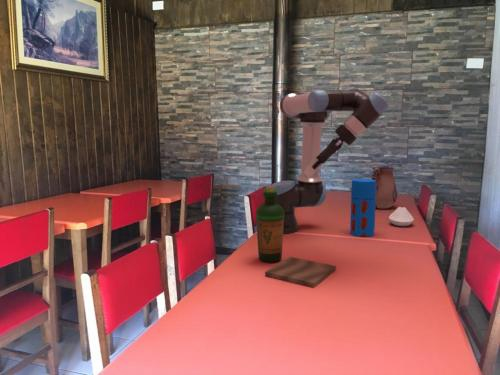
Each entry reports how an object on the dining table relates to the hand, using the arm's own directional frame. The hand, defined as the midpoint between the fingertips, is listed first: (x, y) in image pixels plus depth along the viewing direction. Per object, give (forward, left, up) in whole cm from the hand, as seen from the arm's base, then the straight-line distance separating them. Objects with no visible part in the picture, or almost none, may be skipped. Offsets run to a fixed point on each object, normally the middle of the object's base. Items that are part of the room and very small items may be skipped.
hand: (306, 172), depth 145 cm
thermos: (+7, +45, -33) cm, 56 cm away
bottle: (-11, -8, -33) cm, 36 cm away
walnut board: (+5, -14, -33) cm, 36 cm away
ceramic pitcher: (-2, +106, -33) cm, 111 cm away
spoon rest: (+17, +77, -33) cm, 86 cm away
